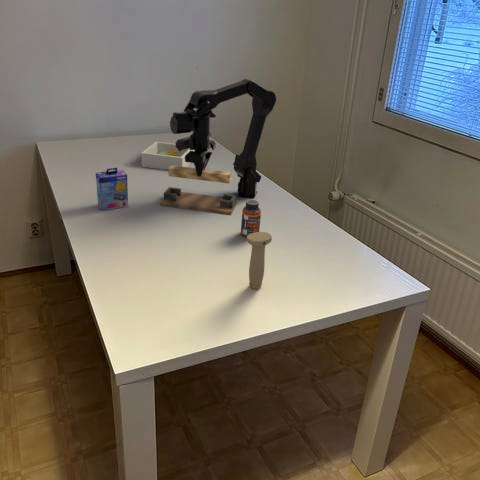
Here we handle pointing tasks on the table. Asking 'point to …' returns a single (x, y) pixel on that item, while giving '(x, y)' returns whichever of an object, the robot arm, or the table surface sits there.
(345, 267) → the table surface
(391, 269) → the table surface
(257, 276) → the handle
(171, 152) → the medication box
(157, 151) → the tray
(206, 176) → the slat
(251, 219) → the supplement bottle
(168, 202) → the endcap frame
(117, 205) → the ink cartridge box
